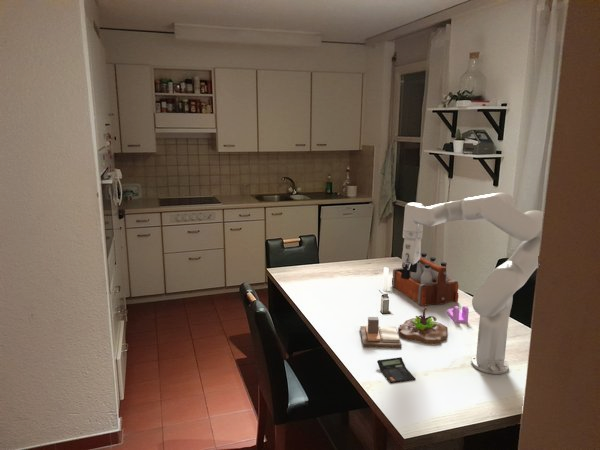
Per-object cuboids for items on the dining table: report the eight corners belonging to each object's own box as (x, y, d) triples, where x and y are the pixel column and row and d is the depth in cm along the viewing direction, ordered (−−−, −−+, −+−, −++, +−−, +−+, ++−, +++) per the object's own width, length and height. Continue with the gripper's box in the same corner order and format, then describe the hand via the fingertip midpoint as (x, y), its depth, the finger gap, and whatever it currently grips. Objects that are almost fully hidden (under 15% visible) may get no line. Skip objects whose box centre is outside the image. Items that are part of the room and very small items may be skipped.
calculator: (390, 384, 156) (390, 376, 156) (376, 367, 167) (377, 359, 167) (415, 380, 158) (415, 372, 158) (400, 364, 169) (400, 356, 169)
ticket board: (401, 347, 181) (401, 341, 180) (363, 346, 182) (363, 340, 181) (395, 330, 197) (395, 324, 196) (360, 329, 198) (360, 323, 197)
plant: (453, 330, 198) (454, 305, 195) (441, 348, 181) (443, 322, 179) (407, 320, 208) (409, 296, 206) (392, 336, 192) (393, 311, 189)
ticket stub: (380, 340, 183) (381, 324, 182) (368, 340, 183) (368, 324, 182) (377, 327, 195) (377, 312, 193) (365, 327, 195) (366, 312, 194)
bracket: (467, 322, 204) (468, 308, 203) (455, 322, 204) (456, 308, 203) (456, 311, 217) (458, 297, 216) (445, 311, 217) (446, 297, 215)
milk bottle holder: (422, 281, 259) (424, 248, 255) (461, 303, 226) (464, 266, 222) (389, 285, 253) (390, 251, 248) (423, 308, 220) (426, 270, 216)
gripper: (415, 240, 172) (411, 283, 176) (427, 231, 186) (424, 271, 190) (396, 237, 175) (392, 279, 179) (409, 228, 190) (406, 267, 194)
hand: (408, 275), depth 185 cm, fingers open, 9 cm apart
